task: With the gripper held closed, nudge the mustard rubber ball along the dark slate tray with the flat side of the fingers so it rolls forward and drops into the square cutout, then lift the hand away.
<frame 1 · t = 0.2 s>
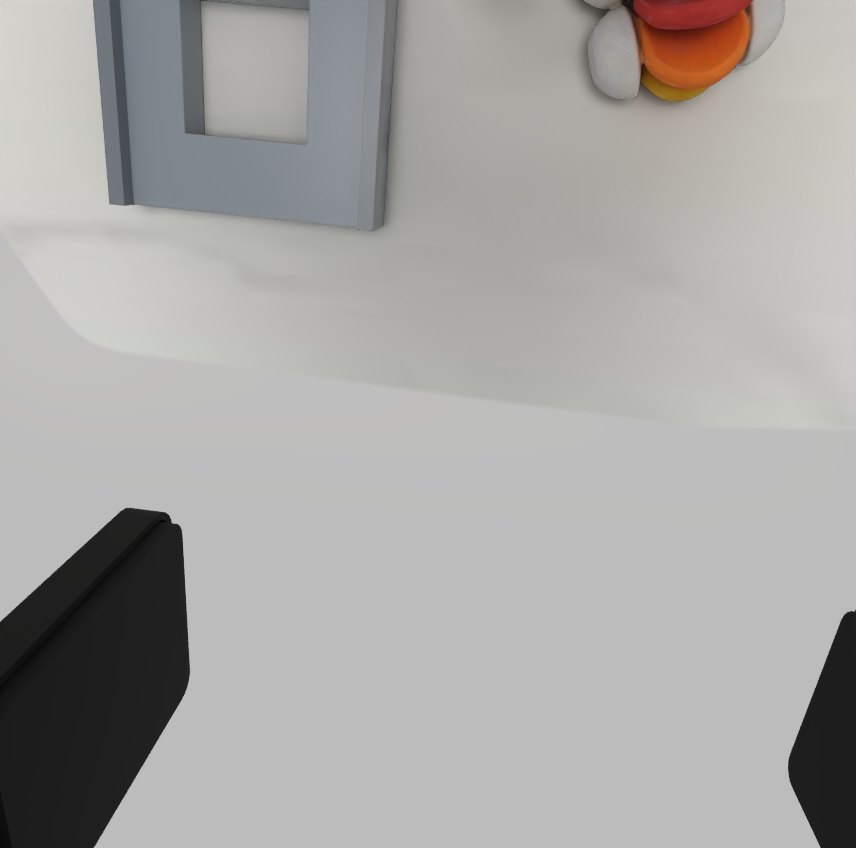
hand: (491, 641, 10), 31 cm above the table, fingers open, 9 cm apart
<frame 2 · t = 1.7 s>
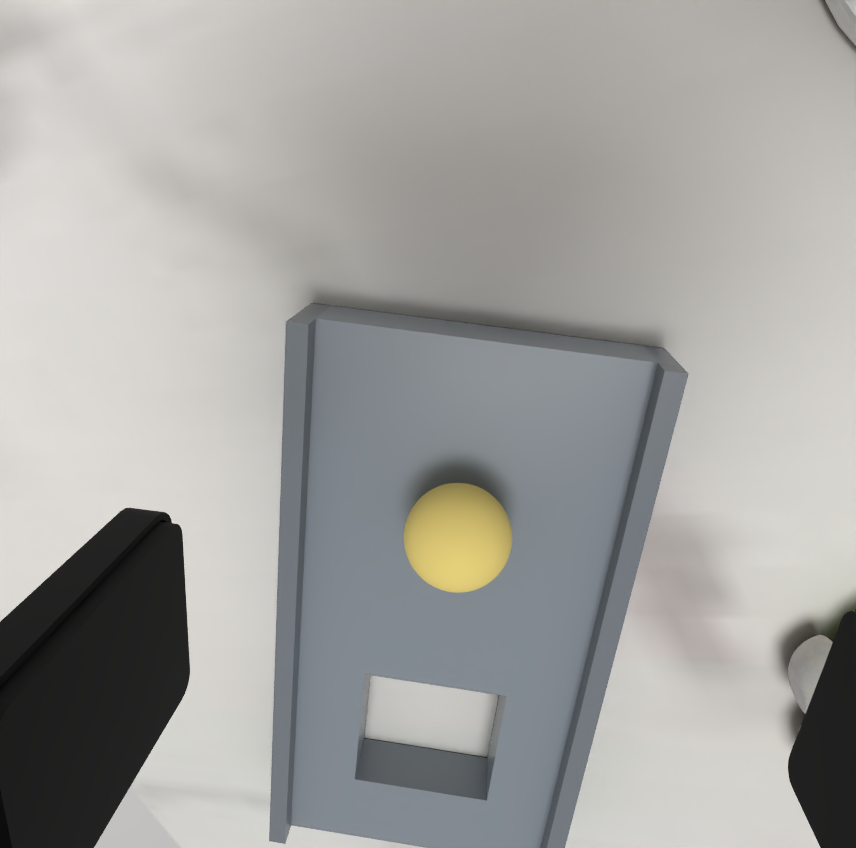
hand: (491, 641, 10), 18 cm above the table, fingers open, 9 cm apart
tray: (446, 599, 31), on the table
ball: (457, 537, 25), point 4 cm above the table, touching tray
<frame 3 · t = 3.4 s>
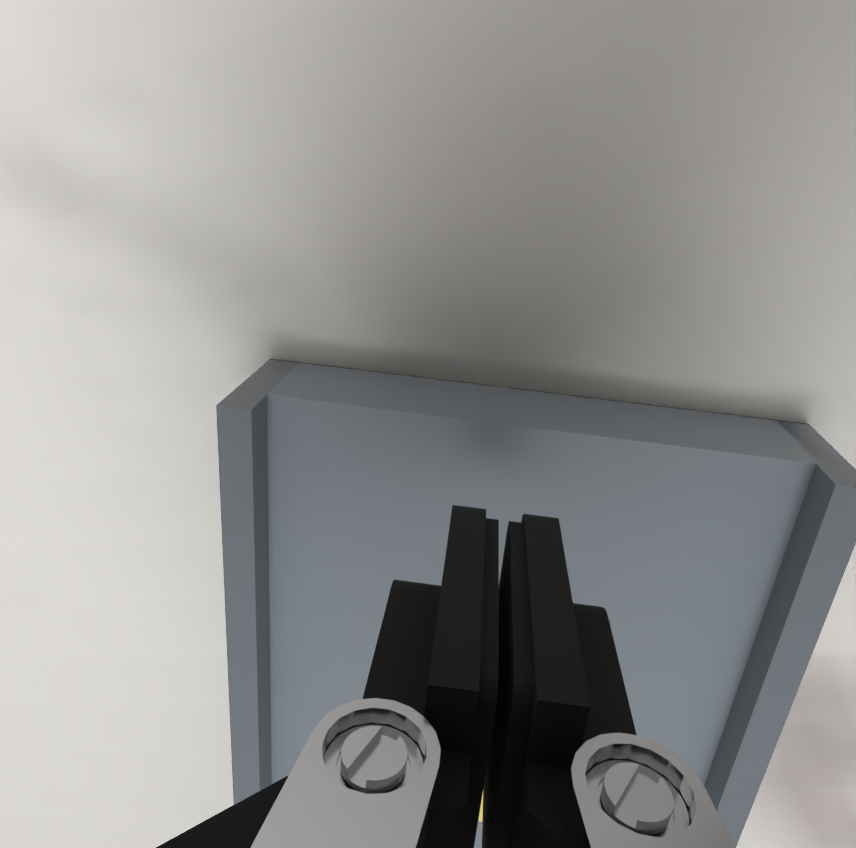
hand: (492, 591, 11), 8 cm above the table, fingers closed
tray: (475, 752, 23), on the table
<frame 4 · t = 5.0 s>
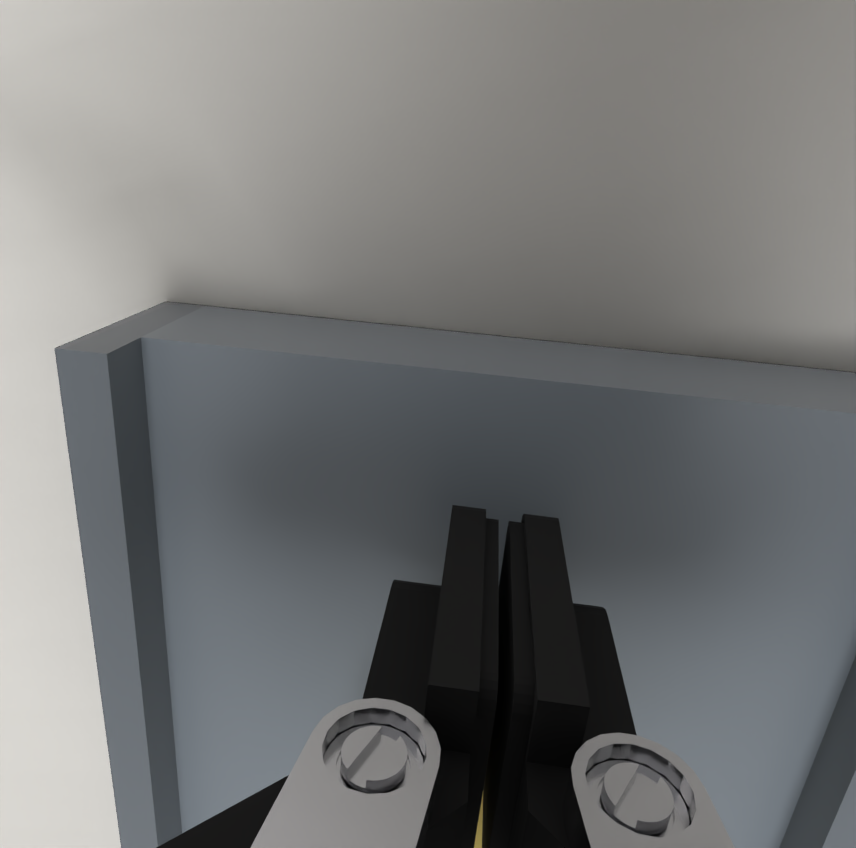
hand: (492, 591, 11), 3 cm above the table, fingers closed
tray: (458, 823, 18), on the table
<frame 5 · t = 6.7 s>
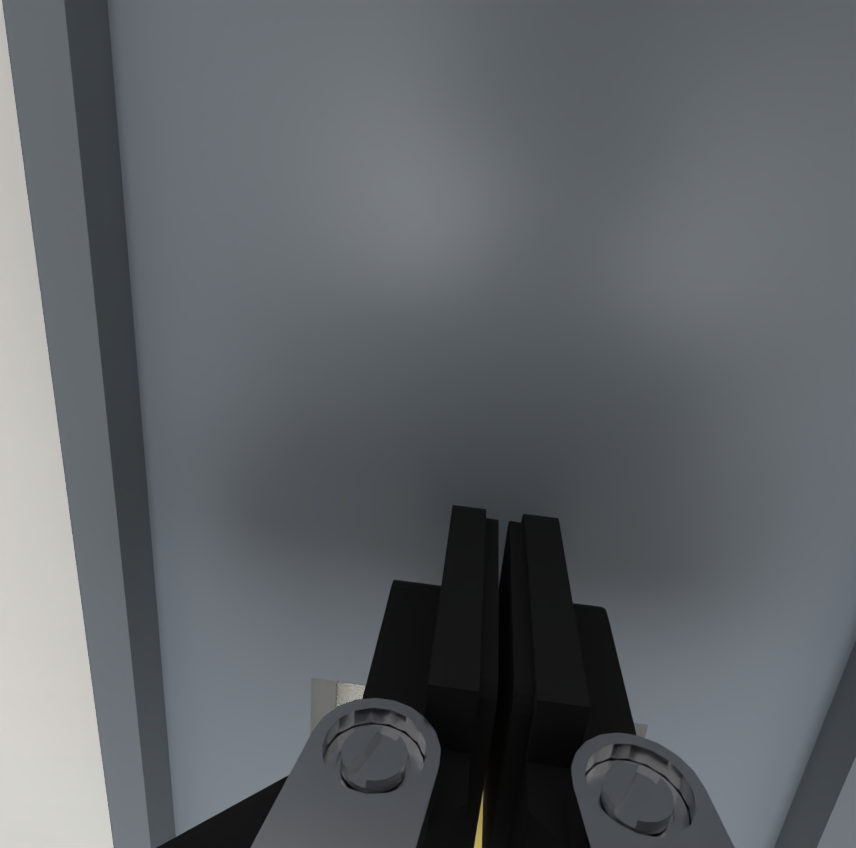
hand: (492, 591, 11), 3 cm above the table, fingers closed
tray: (495, 508, 14), on the table
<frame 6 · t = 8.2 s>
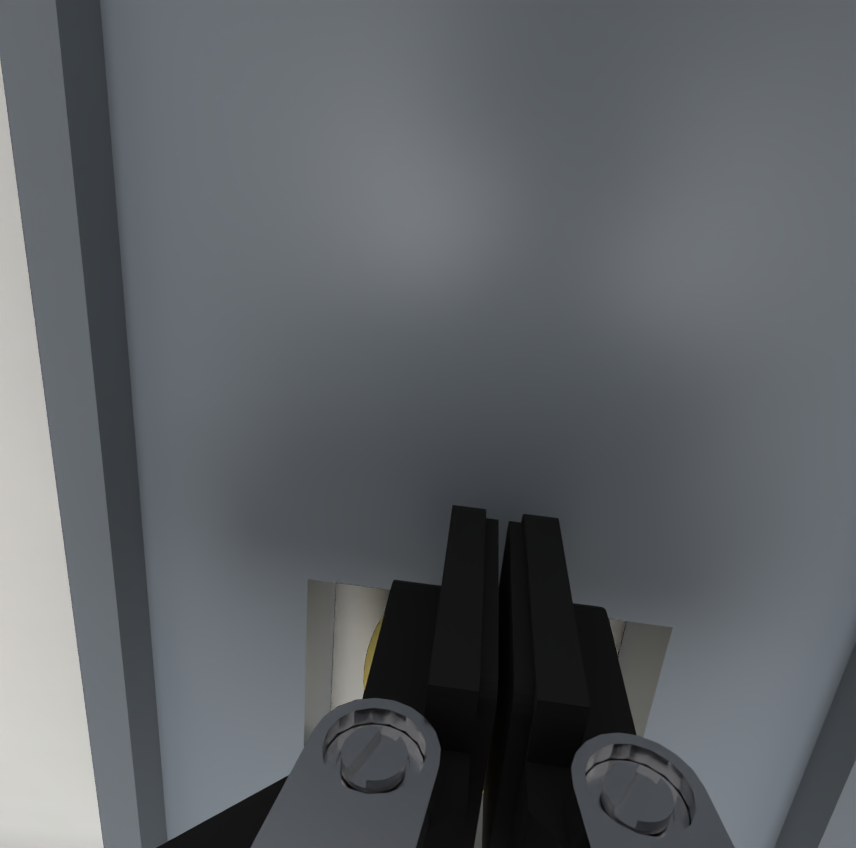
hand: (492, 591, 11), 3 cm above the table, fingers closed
tray: (506, 405, 13), on the table
ball: (467, 676, 13), point 2 cm above the table, tilted 21°, touching gripper
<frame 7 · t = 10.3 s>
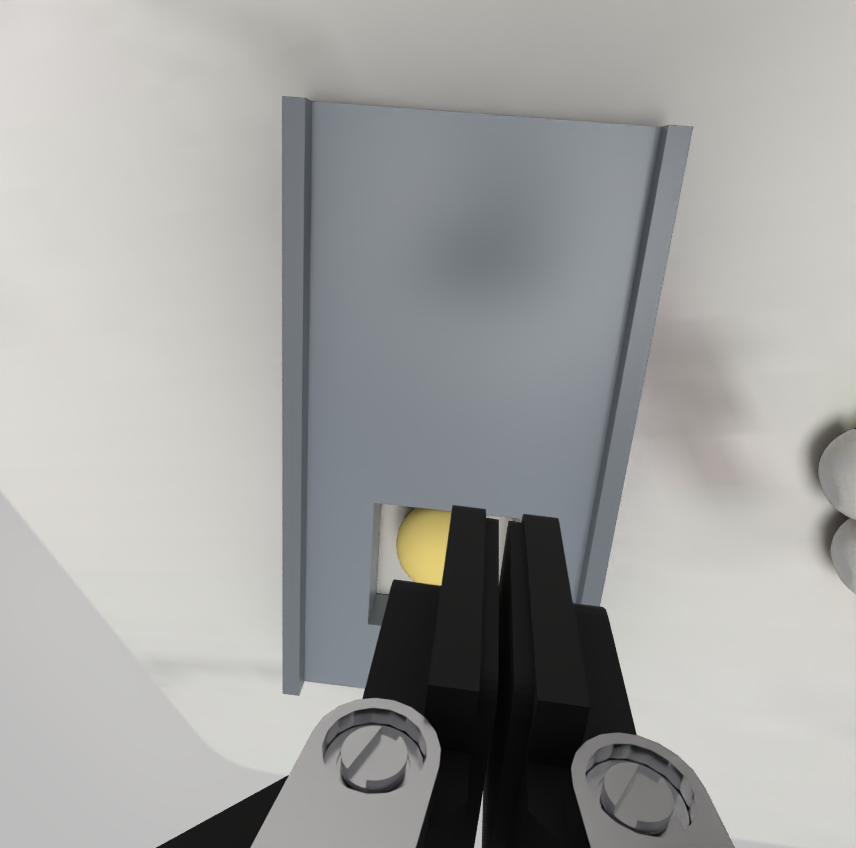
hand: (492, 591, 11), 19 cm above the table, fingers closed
tray: (455, 430, 31), on the table
ball: (440, 544, 30), point 2 cm above the table, tilted 24°
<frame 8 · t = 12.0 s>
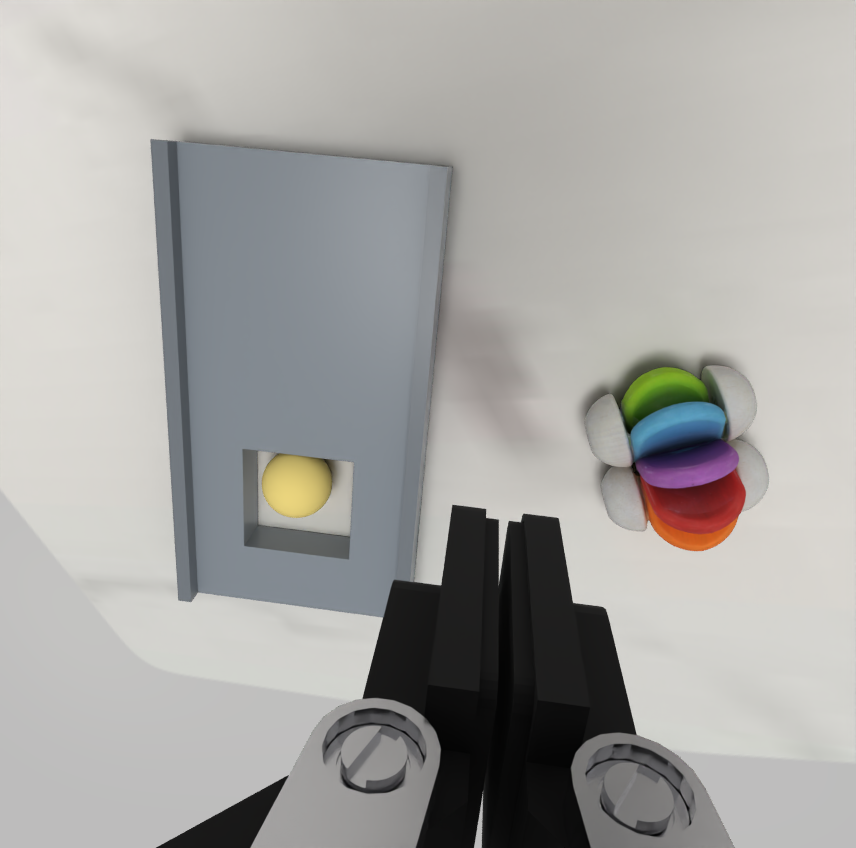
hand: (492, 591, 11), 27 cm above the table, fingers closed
tray: (310, 394, 39), on the table
rainbow white-lobed toy: (665, 435, 38), on the table
ball: (297, 483, 39), point 2 cm above the table, tilted 24°
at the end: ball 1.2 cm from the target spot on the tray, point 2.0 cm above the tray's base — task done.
